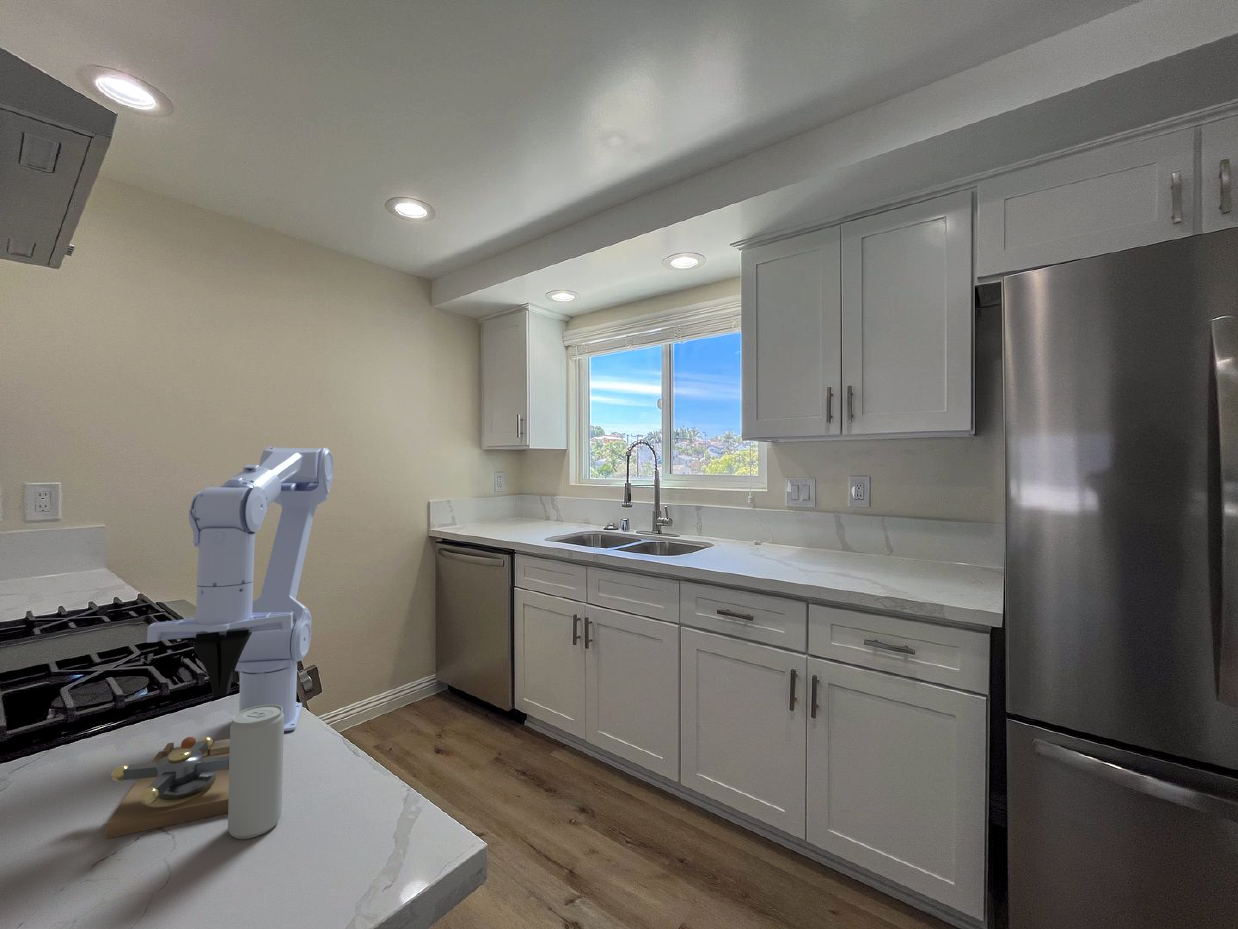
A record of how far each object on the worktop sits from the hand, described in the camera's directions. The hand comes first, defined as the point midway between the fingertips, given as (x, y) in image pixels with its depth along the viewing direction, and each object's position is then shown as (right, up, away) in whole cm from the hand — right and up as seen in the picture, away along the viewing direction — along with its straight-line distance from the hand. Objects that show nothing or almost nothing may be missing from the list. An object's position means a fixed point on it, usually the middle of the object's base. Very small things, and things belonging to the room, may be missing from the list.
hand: (221, 693), depth 67 cm
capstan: (-1, -8, -6) cm, 10 cm away
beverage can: (+10, -11, -9) cm, 17 cm away
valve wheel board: (-2, -10, -2) cm, 11 cm away
